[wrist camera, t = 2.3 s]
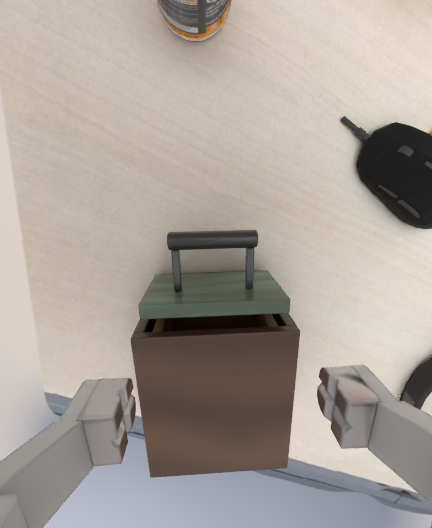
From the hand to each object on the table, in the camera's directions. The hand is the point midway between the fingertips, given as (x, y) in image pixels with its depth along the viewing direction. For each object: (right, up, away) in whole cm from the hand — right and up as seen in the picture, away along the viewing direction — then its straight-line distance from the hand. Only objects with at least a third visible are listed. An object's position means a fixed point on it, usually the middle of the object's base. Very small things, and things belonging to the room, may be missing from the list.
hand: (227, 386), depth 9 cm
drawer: (-1, -1, +17) cm, 17 cm away
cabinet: (-1, -5, +20) cm, 20 cm away
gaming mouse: (+17, +14, +15) cm, 26 cm away
